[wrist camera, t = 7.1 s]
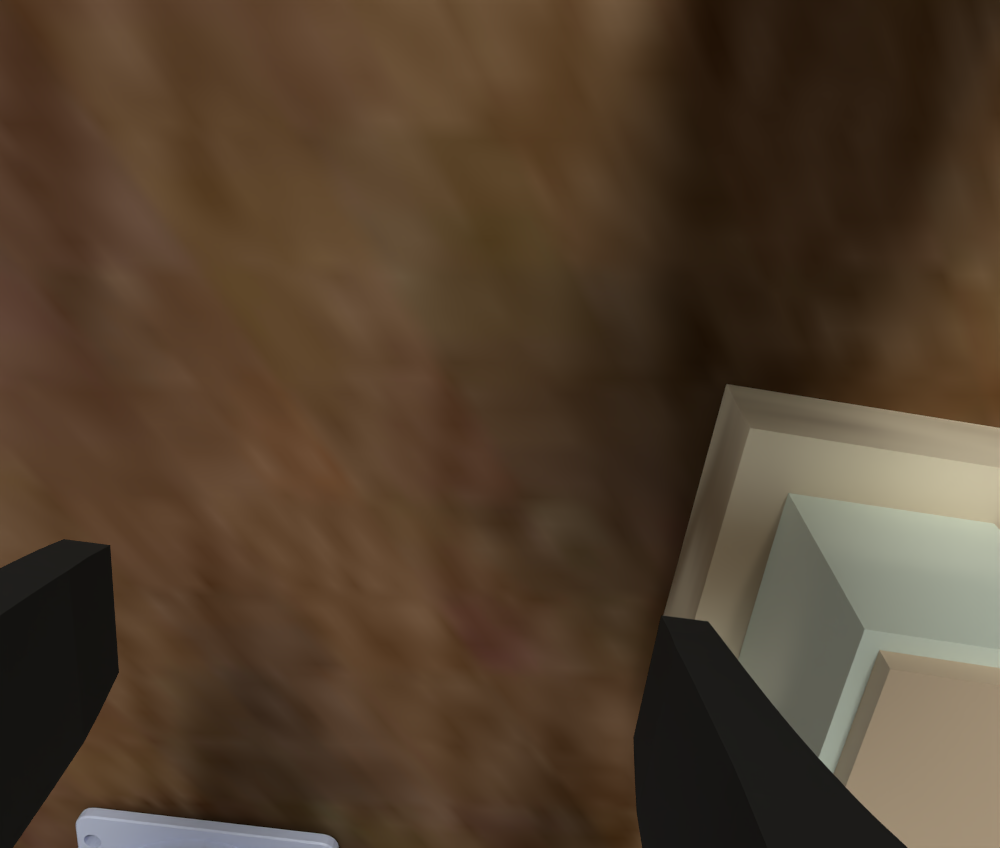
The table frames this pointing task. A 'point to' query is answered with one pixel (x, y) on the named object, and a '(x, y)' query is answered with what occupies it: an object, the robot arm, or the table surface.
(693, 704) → the robot arm
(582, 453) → the table surface
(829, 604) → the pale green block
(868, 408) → the base block
